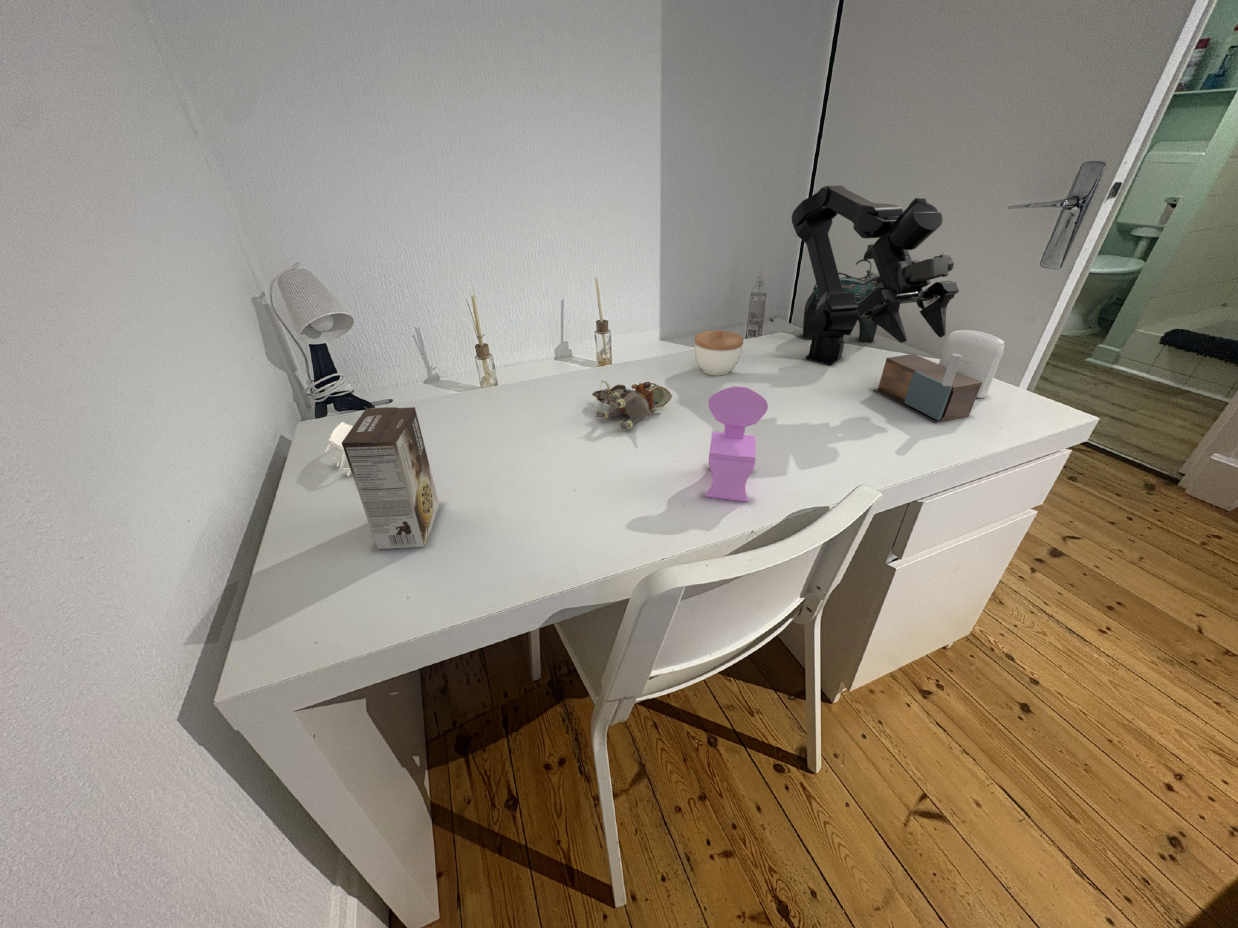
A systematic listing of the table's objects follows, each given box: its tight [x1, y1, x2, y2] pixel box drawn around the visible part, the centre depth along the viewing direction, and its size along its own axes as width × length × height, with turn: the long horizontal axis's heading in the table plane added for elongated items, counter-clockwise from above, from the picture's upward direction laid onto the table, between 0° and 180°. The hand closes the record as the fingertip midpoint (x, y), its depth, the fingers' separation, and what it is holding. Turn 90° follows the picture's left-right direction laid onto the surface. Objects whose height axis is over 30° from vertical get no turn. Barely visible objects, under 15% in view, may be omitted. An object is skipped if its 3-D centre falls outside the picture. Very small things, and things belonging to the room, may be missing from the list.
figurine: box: [591, 380, 673, 430], centre depth 99 cm, size 20×6×17 cm
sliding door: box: [904, 354, 962, 420], centre depth 95 cm, size 8×2×12 cm, turn 19°
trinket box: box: [693, 329, 744, 377], centre depth 115 cm, size 11×11×9 cm
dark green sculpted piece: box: [802, 258, 884, 343], centre depth 131 cm, size 20×6×20 cm, turn 77°
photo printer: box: [938, 329, 1006, 399], centre depth 104 cm, size 10×4×12 cm, turn 39°
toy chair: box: [704, 385, 769, 502], centre depth 74 cm, size 8×9×15 cm
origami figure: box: [324, 421, 354, 477], centre depth 85 cm, size 12×8×5 cm
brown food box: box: [341, 406, 440, 550], centre depth 66 cm, size 9×6×16 cm
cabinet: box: [872, 353, 982, 424], centre depth 101 cm, size 16×8×7 cm, turn 19°
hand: (923, 339), depth 95 cm, fingers open, 9 cm apart
